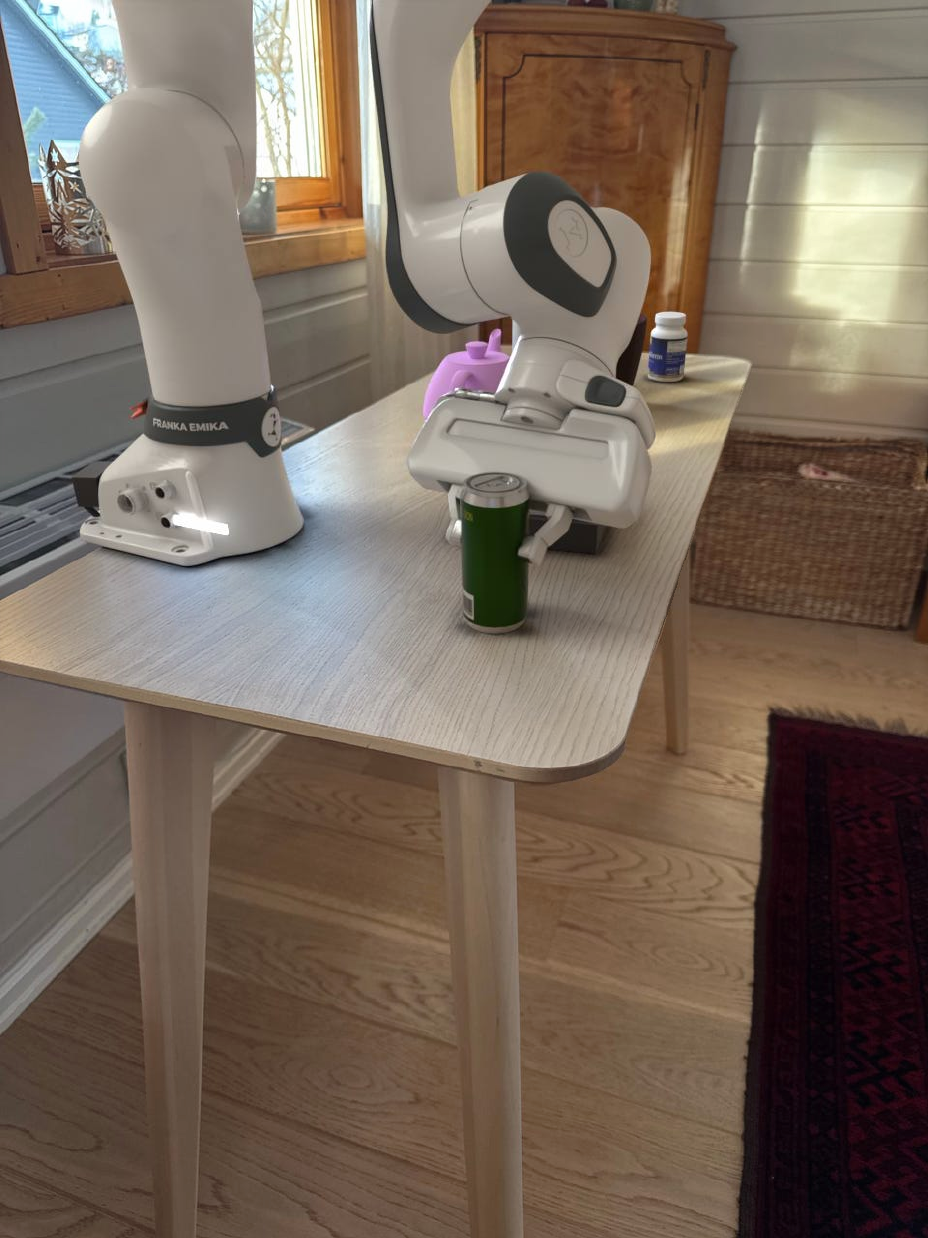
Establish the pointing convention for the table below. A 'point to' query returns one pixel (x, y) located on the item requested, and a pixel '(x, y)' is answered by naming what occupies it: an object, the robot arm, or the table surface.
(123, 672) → the table surface
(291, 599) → the table surface
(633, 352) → the mug
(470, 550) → the beer can
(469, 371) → the teapot
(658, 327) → the pill bottle
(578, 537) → the scale
